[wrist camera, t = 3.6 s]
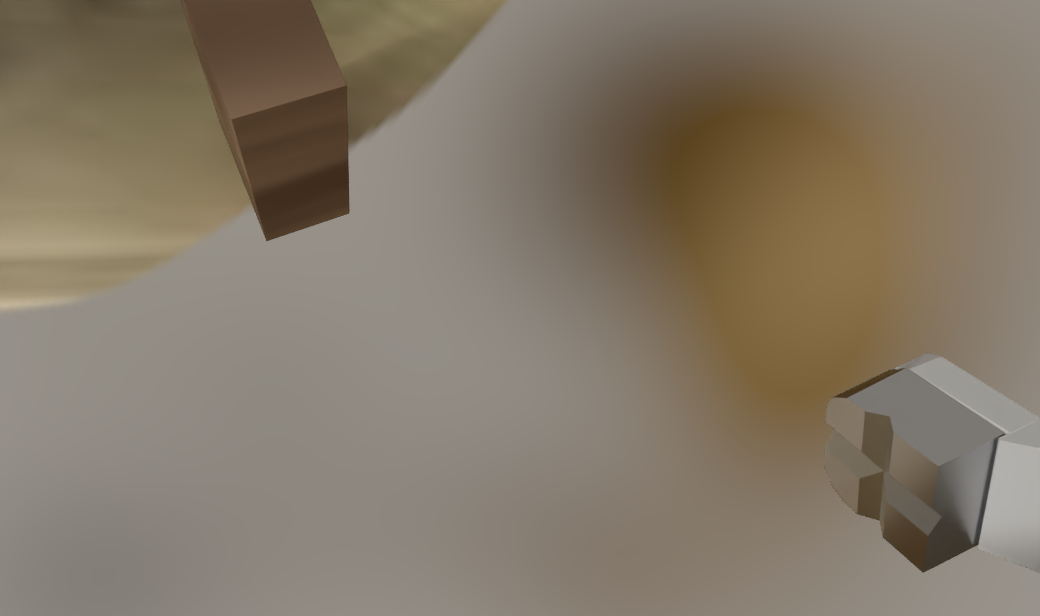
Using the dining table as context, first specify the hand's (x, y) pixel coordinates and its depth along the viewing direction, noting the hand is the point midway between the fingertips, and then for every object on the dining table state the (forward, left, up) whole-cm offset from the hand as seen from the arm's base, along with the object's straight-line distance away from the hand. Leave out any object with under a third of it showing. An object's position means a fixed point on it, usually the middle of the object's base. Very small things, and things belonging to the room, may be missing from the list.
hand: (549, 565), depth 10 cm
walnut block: (+9, +9, -14) cm, 19 cm away
